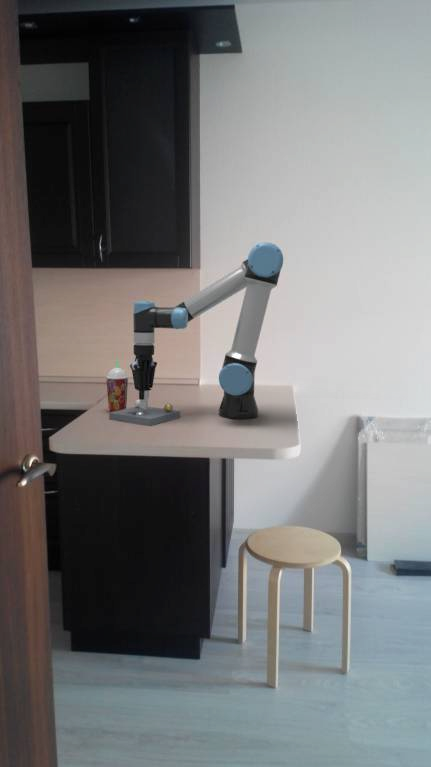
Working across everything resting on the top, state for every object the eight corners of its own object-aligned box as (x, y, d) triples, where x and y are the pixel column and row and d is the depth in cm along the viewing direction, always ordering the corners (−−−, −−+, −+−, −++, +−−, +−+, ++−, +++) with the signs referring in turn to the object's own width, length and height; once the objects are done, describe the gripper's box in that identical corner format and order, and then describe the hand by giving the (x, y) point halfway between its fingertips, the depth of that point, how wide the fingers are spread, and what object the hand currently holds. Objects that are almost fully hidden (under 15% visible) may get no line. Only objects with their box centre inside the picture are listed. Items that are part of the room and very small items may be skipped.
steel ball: (139, 423, 215) (146, 418, 215) (136, 419, 212) (143, 415, 212) (136, 416, 217) (143, 412, 217) (132, 412, 214) (140, 408, 214)
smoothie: (131, 410, 233) (131, 360, 230) (122, 414, 225) (122, 362, 222) (112, 408, 235) (111, 359, 232) (102, 412, 227) (102, 361, 224)
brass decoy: (174, 411, 219) (174, 403, 218) (169, 413, 216) (169, 404, 215) (167, 410, 220) (167, 402, 220) (162, 412, 218) (162, 403, 217)
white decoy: (144, 407, 226) (144, 399, 225) (139, 408, 223) (139, 400, 223) (138, 406, 228) (138, 398, 227) (133, 407, 225) (133, 399, 224)
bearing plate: (180, 417, 221) (180, 411, 220) (150, 426, 205) (150, 419, 205) (140, 411, 230) (140, 405, 230) (109, 419, 215) (109, 412, 215)
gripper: (147, 342, 221) (146, 404, 224) (124, 344, 210) (124, 409, 214) (163, 343, 217) (162, 406, 220) (140, 345, 206) (140, 411, 210)
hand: (143, 407), depth 217 cm, fingers closed
